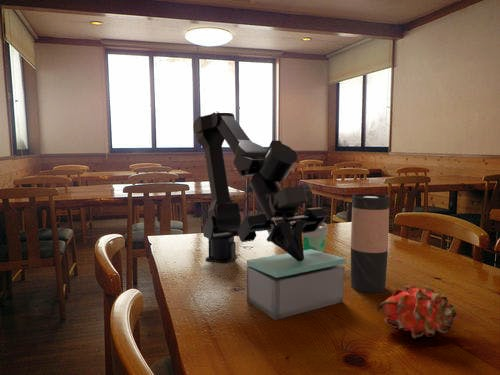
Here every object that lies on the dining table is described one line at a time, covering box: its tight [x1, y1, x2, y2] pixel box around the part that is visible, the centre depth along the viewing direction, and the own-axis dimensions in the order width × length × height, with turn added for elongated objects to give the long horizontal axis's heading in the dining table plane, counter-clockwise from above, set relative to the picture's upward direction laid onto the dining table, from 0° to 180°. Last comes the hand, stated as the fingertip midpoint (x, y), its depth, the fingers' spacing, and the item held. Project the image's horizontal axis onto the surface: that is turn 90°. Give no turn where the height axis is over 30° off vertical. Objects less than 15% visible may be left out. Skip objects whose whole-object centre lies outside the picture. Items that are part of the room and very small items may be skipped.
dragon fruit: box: [376, 284, 458, 339], centre depth 63 cm, size 8×8×12 cm
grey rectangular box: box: [246, 265, 345, 321], centre depth 76 cm, size 10×16×7 cm, turn 120°
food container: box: [302, 222, 329, 253], centre depth 101 cm, size 12×6×10 cm, turn 168°
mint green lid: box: [246, 249, 347, 278], centre depth 75 cm, size 10×16×1 cm, turn 120°
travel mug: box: [350, 193, 390, 294], centre depth 83 cm, size 8×8×20 cm
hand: (301, 260), depth 74 cm, fingers closed, pressing on mint green lid
